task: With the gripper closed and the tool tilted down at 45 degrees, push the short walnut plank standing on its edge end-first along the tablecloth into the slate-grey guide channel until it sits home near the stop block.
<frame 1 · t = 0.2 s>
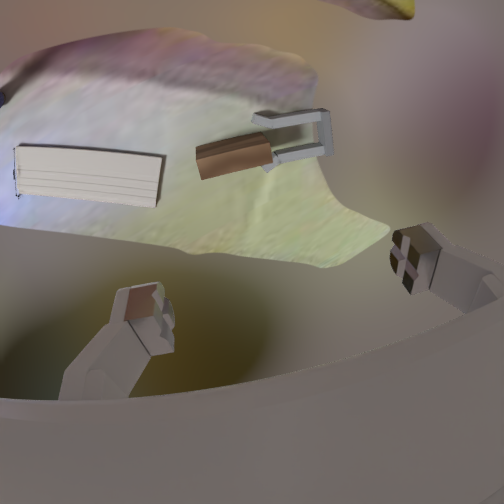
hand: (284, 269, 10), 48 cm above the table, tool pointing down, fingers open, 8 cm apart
grey channel: (295, 134, 55), on the table
walnut plank: (230, 147, 55), on the table
rubber mallet: (0, 99, 38), on the table
baseboard molding: (83, 176, 53), on the table
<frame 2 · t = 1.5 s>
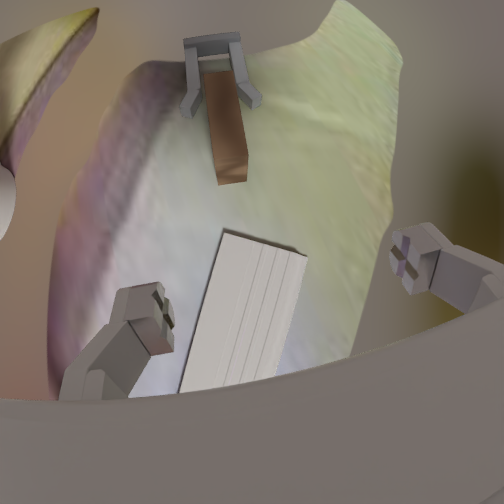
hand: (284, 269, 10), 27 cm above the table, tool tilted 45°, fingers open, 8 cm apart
grey channel: (216, 74, 41), on the table
walnut plank: (226, 142, 40), on the table
baseboard molding: (237, 368, 37), on the table
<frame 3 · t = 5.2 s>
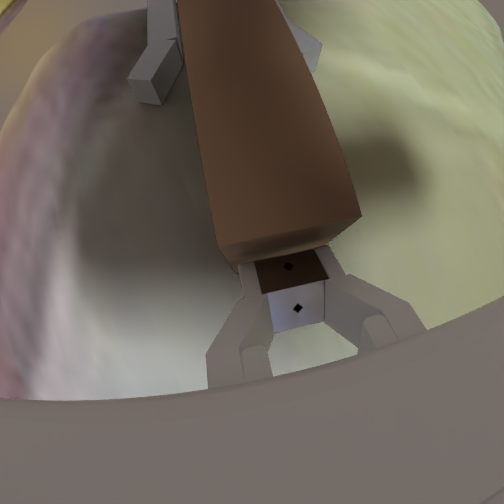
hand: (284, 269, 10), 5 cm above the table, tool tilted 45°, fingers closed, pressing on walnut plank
grey channel: (212, 18, 18), on the table
walnut plank: (246, 155, 16), on the table, touching gripper
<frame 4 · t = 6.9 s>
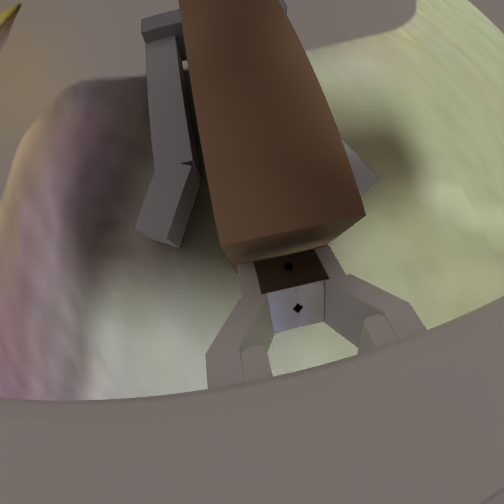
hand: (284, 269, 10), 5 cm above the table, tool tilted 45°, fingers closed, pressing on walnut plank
grey channel: (231, 102, 16), on the table
walnut plank: (247, 154, 16), on the table, touching gripper
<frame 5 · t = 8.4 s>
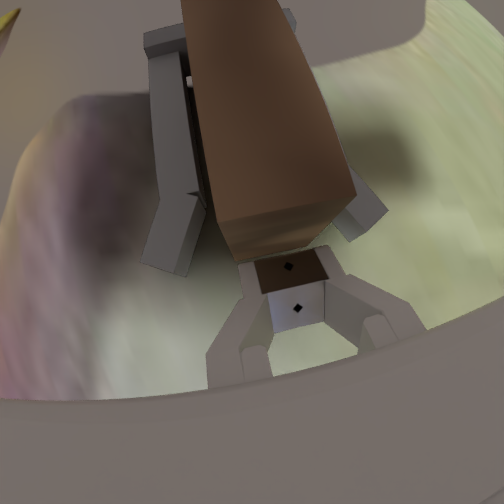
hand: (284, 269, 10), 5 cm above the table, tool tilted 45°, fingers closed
grey channel: (238, 123, 16), on the table
walnut plank: (246, 146, 16), on the table
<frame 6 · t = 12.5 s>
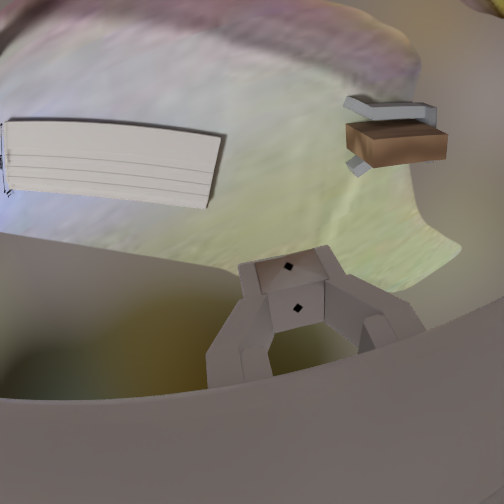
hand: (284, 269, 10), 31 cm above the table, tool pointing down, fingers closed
grey channel: (391, 130, 39), on the table
walnut plank: (382, 132, 40), on the table
baseboard molding: (100, 163, 37), on the table
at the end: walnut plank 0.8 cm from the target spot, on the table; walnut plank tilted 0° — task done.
